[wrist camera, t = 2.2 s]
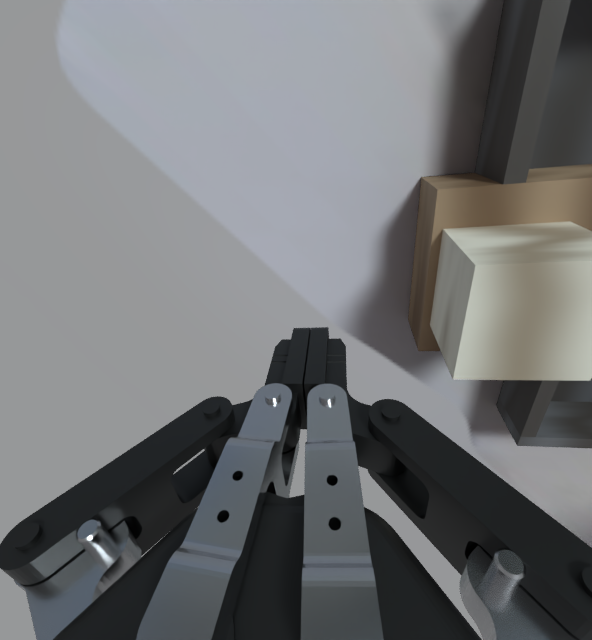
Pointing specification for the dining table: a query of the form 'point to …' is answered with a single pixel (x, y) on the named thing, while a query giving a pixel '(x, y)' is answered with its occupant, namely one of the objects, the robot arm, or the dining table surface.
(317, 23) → the dining table surface
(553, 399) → the box
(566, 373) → the block
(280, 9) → the dining table surface
